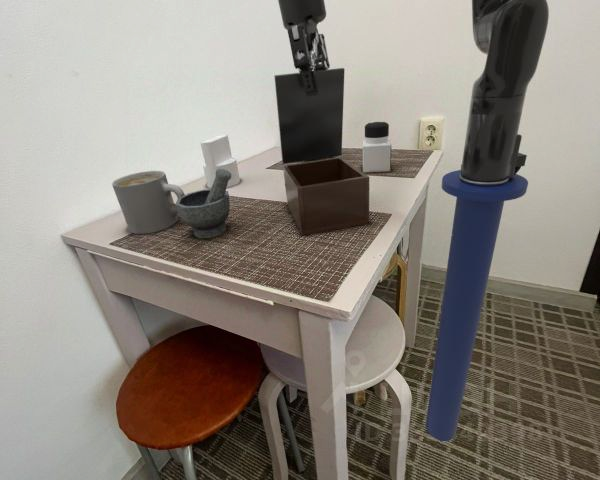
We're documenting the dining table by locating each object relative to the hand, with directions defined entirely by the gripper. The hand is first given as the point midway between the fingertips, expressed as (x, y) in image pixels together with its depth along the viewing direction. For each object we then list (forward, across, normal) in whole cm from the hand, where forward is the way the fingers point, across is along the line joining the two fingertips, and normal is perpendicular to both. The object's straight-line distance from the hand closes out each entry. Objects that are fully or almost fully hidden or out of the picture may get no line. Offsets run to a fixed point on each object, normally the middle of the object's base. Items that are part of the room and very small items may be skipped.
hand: (319, 94), depth 60 cm
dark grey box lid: (+4, 0, +2) cm, 5 cm away
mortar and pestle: (+19, -14, +22) cm, 32 cm away
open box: (+22, -4, +3) cm, 22 cm away
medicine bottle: (+21, +27, -4) cm, 35 cm away
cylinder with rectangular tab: (+15, +14, +35) cm, 41 cm away
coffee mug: (+17, -12, +36) cm, 42 cm away
